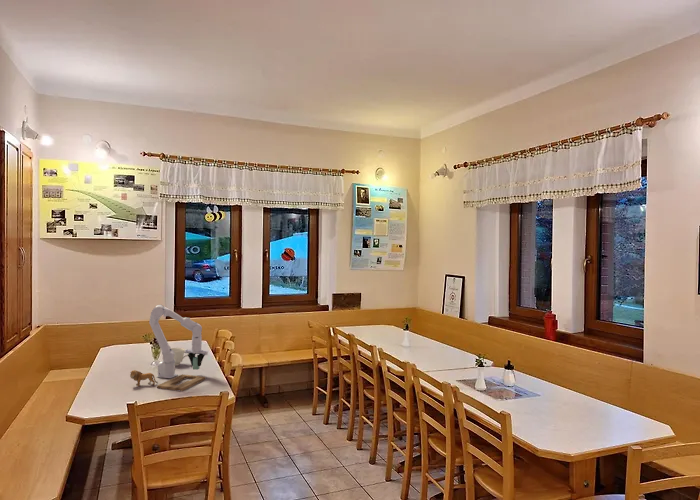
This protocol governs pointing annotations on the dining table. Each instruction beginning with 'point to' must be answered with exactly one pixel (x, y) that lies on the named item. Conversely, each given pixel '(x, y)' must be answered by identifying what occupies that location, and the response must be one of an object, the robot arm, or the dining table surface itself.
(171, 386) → the brown wooden frame
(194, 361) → the teal peg
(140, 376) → the lion figurine
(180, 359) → the teacup
